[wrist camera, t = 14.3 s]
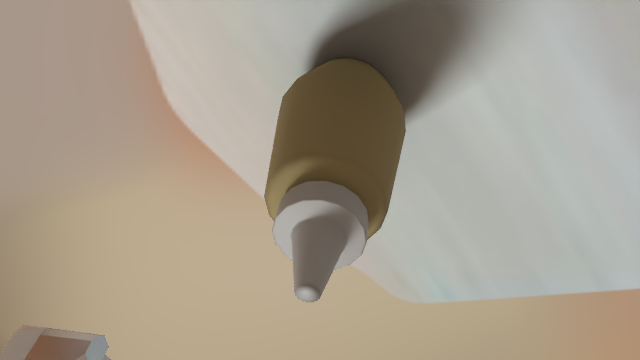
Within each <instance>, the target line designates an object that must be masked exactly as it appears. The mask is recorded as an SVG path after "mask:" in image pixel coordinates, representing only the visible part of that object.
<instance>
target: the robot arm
mask: <svg viewBox="0 0 640 360" xmlns="http://www.w3.org/2000/svg"><path fill="white" fill-rule="evenodd" d="M108 347H109V346H108V344H107V341H106V338H105V336H104V335H98V334H90V333H82V332H75V331H66V330H59V329H52V328H45V327H37V326H28V325H23V326H21V327H20V328H19V329H17V330H16V331H15V332H14V333H13V334H12V336H11V337H10V339H9V340H8V342H7V343H6V345H5V346H4V347H3V349H2V350H1V352H0V360H111V359H110V358H108V357H107V356H106V355H105V353H106V351H107V349H108Z"/></svg>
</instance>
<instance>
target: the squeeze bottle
mask: <svg viewBox="0 0 640 360" xmlns="http://www.w3.org/2000/svg"><path fill="white" fill-rule="evenodd" d="M405 132H406V130H405V117H404V108H403V107H402V105H401V103H400V101H399V100H398V98H397V96H396V94H395V93H394V91H393V89H392V88H391V86H390V85H389V84H388V82H387V81H386V80H385V78H384V77H383V76H382V75H381V73H380V72H378V71H377V70H376V69H374V68H373V67H372V66H370V65H369V64H368V63H366V62H362V61H359V60H355V59H352V58H343V59H332V60H330V61H328V62H326V63H324V64H322V65H320V66H318V67H316V68H315V69H313V70H311V71H310V72H308V73H306V74H304V75H303V76H301V77H299V78H298V79H297V80H296V81H295V82H294V84H293V85H292V86H291V87H290V88H289V90H288V91H287V92H286V93H285V95H284V96H283V99H282V103H281V107H280V111H279V116H278V121H277V127H276V132H275V138H274V144H273V150H272V155H271V161H270V167H269V172H268V178H267V184H266V190H265V195H264V197H265V201H266V205H267V208H268V212H269V215H270V217H271V218H272V219H273V220H274V225H273V228H272V232H273V236H274V240H275V244H276V245H277V246H278V248H279V249H280V250H281V251H282V253H283V254H284V255H285V256H286V257H287V258H289V259H290V260H292V261H293V273H294V291H295V295H296V296H297V298H298V299H300V300H302V301H305V302H314V301H317V300H318V299H319V298H320V296H321V295H322V292H323V290H324V288H325V286H326V284H327V282H328V280H329V278H330V276H331V274H332V272H333V270H335V269H338V268H341V267H344V266H347V265H350V264H351V263H352V262H354V261H355V260H356V259H357V258H358V257H359V256H361V255H362V252H363V250H364V247H365V245H366V242H367V240H368V239H369V238H370V237H371V236H372V235H373V234H374V233H376V232H377V231H378V230H379V229H380V228H381V226H382V223H383V221H384V219H385V216H386V214H387V211H388V208H389V203H390V199H391V194H392V190H393V185H394V181H395V176H396V172H397V167H398V163H399V158H400V154H401V149H402V145H403V140H404V136H405Z"/></svg>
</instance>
